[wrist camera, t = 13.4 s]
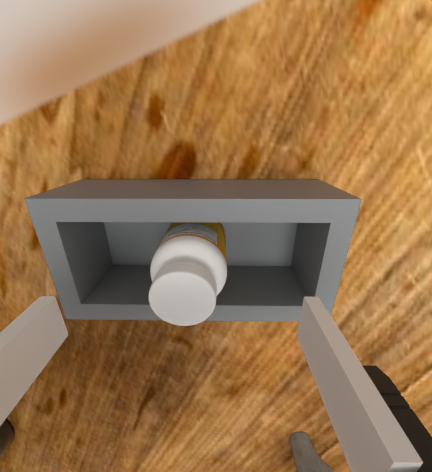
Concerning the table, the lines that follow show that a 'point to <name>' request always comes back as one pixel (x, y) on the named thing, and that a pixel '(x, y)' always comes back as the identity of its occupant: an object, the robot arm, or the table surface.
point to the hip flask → (306, 454)
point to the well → (195, 210)
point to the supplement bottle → (188, 272)
